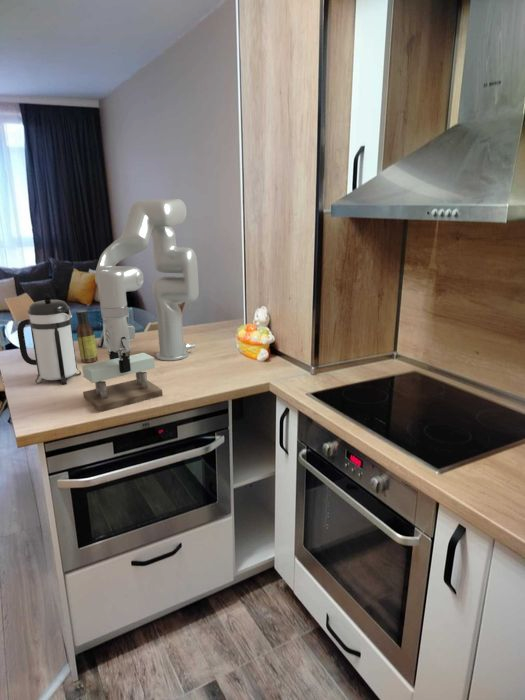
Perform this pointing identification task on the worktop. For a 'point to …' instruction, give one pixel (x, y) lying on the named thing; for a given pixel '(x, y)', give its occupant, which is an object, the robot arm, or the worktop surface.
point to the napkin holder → (131, 336)
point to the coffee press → (50, 340)
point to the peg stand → (122, 393)
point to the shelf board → (117, 367)
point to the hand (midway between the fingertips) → (120, 368)
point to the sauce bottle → (86, 338)
